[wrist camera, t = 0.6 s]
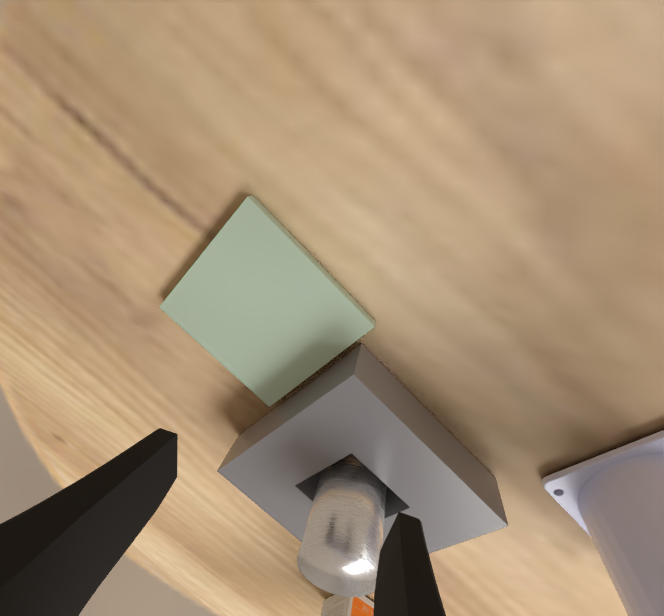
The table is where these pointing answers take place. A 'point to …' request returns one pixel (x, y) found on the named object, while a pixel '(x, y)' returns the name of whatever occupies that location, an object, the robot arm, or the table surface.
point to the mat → (265, 305)
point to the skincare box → (347, 606)
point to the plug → (344, 530)
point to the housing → (365, 455)
